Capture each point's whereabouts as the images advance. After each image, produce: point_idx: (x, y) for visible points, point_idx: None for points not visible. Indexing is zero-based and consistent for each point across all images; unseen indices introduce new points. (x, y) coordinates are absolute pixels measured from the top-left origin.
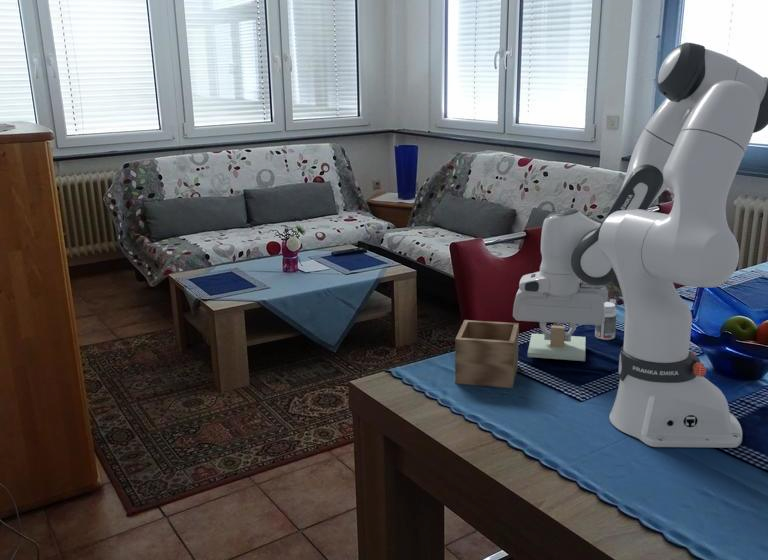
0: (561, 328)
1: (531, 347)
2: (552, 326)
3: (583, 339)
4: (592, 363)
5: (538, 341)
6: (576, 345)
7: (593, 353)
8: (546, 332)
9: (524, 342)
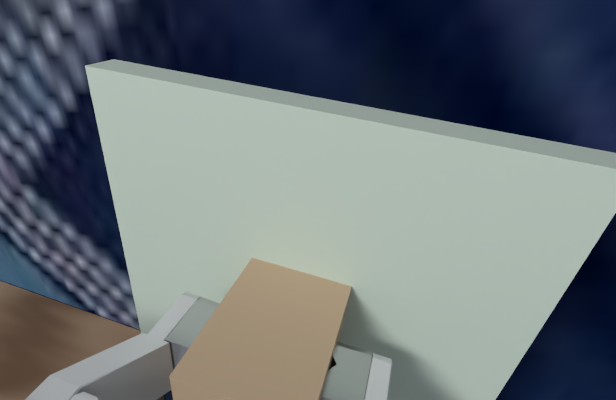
0: None
1: (150, 317)
2: (182, 396)
3: (569, 241)
4: (511, 386)
5: (170, 239)
6: (440, 346)
7: (602, 265)
8: (166, 391)
9: (103, 33)
